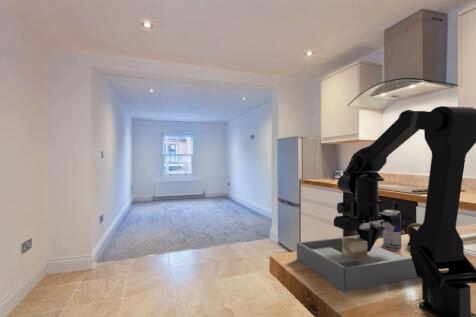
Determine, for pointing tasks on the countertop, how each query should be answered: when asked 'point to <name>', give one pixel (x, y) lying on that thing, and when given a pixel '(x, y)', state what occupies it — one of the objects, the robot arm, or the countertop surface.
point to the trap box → (354, 265)
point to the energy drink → (392, 232)
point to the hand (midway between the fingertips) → (367, 251)
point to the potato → (412, 226)
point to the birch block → (354, 248)
